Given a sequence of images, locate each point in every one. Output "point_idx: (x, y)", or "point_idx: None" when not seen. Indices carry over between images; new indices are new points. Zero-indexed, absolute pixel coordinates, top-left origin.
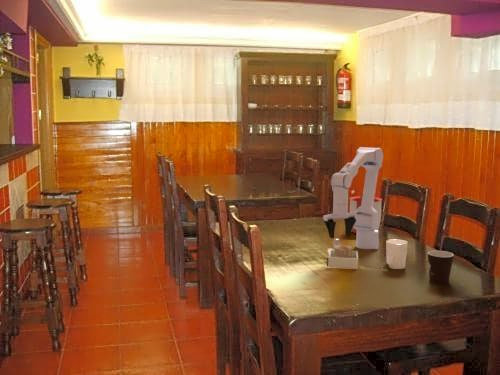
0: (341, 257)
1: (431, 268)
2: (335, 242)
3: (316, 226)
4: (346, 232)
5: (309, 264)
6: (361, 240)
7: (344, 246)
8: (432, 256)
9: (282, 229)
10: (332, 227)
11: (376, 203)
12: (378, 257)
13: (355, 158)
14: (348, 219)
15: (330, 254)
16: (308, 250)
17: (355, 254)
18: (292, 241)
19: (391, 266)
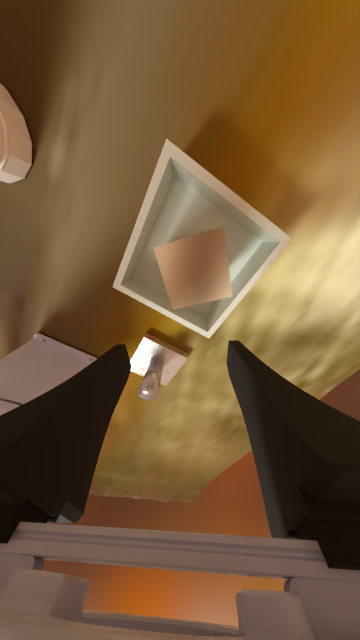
0: (238, 208)
1: None
2: (156, 381)
3: (117, 476)
4: (122, 374)
5: (297, 296)
6: (61, 378)
7: (188, 272)
8: None
9: (178, 480)
10: (302, 396)
11: None
12: (45, 288)
13: None
14: (41, 494)
15: (235, 294)
16: (207, 395)
17: (127, 282)
18: (201, 441)
19: (5, 93)
